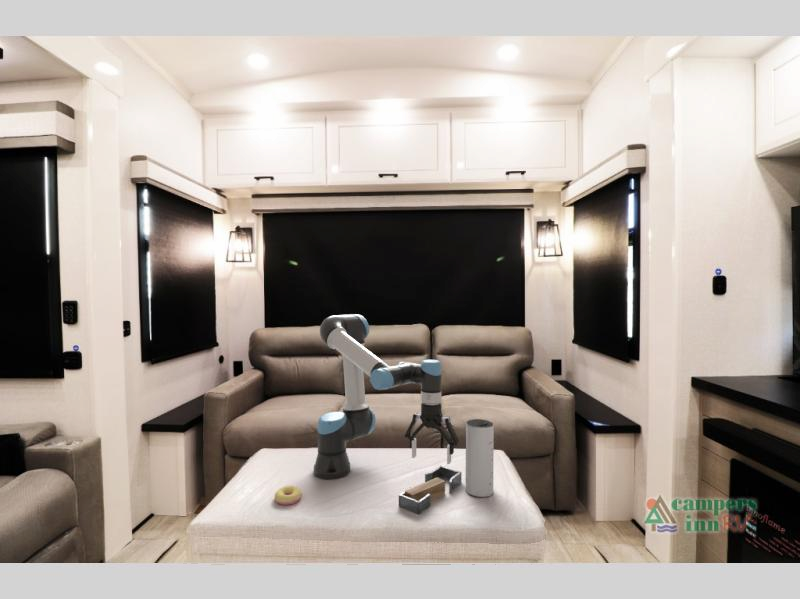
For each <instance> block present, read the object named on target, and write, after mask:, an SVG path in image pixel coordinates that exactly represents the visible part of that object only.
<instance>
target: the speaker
mask: <svg viewBox="0 0 800 599" xmlns="http://www.w3.org/2000/svg"><path fill="white" fill-rule="evenodd" d="M494 428H495V424H494V423H493V421H490V420H487V419H481V418H474V419H469V420H467V421H466V422H465V491H466V493H467V494H468V495H470V496H473V497H477V498H487V497H490V496H492V495H493V493H494V454H495V452H494V448H495V447H494V445H495V444H494V441H495V440H494V439H495V438H494V435H495V434H494V433H495V430H494Z"/></svg>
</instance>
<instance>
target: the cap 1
mask: <svg viewBox="0 0 800 599" xmlns="http://www.w3.org/2000/svg"><path fill="white" fill-rule="evenodd" d="M410 488H413V486H412V487H409V488H407V489H406V490H408V489H410ZM406 490H404V491H402V492H401V493H400V494H398V507H399V508H403V509H405V510H408V511H410V512H411V513H415V514H417V515H421V514H422V513H423V512H424V511H426V510H427V509H428V508H429V507H431V500H430V494H427V495H426V496H425V497H423V498H422V499H421V500H419V501H417V500H415V499H412V498H409V497H407V496H405V491H406Z"/></svg>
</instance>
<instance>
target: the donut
mask: <svg viewBox="0 0 800 599" xmlns="http://www.w3.org/2000/svg"><path fill="white" fill-rule="evenodd" d="M302 494H303V493H302V490H301V489H300V487H297V486H294V485H286V486H282V487H280V488H278V489H277V490H276V492H275V493H274V500H275V502H276V503H277V504H279V505H281V506H290V505H294V504H296V503H297V502H299V501H300V500H301V498H302Z"/></svg>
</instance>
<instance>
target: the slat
mask: <svg viewBox="0 0 800 599" xmlns="http://www.w3.org/2000/svg"><path fill="white" fill-rule="evenodd" d="M409 488H410V487H409ZM407 489H408V488H407ZM407 489H406V491H405V490H404V491H405V496H407V497H409V498H412V499H415V500H417V501H419V500H421V499H422V498H423V497H425V496H426V495H427V494H430V501H432V500H434V499H437V498H439V497H441V496H443V495H446V481H445V480H444V479H442V478H441V477H440V478H438V477H437V478H434V479H432V480H430V481H427V482H425V481H424V482H423V483H420V484H418V485H416V486H412V488H410V489H408V490H407Z"/></svg>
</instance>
